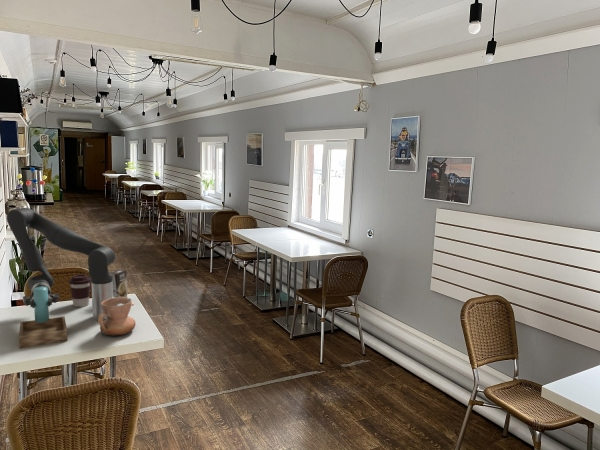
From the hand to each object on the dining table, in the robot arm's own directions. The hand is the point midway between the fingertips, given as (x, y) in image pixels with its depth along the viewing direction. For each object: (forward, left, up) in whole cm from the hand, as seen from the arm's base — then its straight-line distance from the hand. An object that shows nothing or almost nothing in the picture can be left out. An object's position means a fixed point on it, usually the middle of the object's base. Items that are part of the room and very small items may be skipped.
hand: (41, 304), depth 193 cm
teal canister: (0, -3, -8) cm, 8 cm away
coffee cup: (-17, -38, -15) cm, 45 cm away
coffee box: (-34, -36, -15) cm, 52 cm away
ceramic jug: (-28, +6, -15) cm, 32 cm away
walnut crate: (0, -2, -15) cm, 15 cm away
